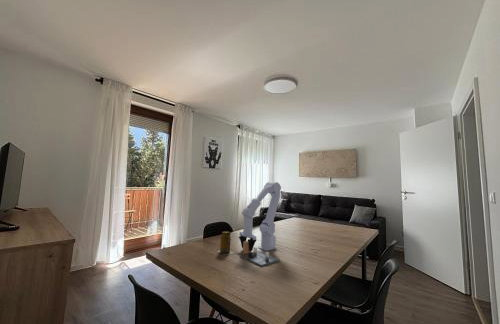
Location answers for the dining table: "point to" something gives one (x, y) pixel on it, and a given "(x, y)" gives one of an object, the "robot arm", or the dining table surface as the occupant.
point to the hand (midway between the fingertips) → (247, 249)
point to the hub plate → (260, 258)
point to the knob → (246, 247)
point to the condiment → (225, 243)
